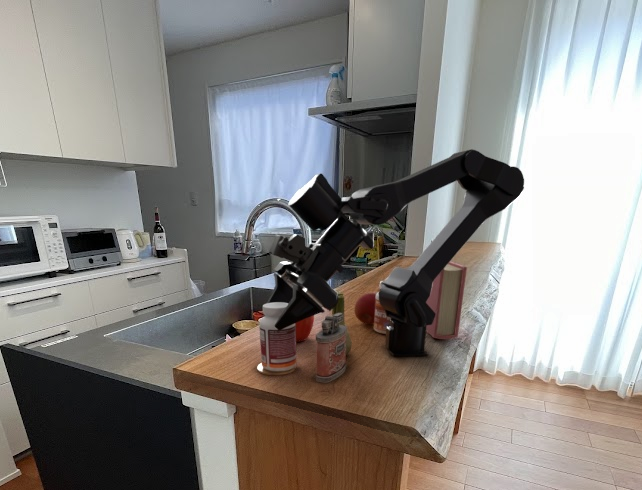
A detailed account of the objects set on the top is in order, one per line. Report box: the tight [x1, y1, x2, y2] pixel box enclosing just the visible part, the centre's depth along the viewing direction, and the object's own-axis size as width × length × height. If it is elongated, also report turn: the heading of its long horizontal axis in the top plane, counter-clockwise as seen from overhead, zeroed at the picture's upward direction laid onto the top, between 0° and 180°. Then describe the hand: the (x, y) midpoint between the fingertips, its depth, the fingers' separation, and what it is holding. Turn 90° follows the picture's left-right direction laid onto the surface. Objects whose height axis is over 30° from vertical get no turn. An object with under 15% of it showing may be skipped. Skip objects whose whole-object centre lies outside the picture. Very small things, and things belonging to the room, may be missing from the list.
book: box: [426, 260, 468, 340], centre depth 84 cm, size 14×15×5 cm
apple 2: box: [354, 292, 378, 325], centre depth 92 cm, size 8×8×8 cm
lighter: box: [315, 313, 348, 383], centre depth 63 cm, size 8×3×10 cm, turn 148°
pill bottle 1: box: [258, 302, 297, 372], centre depth 66 cm, size 6×6×11 cm
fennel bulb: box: [331, 291, 352, 356], centre depth 71 cm, size 6×5×12 cm
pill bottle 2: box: [373, 280, 392, 335], centre depth 85 cm, size 6×6×11 cm
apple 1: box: [295, 315, 315, 343], centre depth 81 cm, size 8×8×11 cm
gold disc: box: [256, 362, 297, 376], centre depth 67 cm, size 7×7×1 cm
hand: (270, 321), depth 64 cm, fingers open, 9 cm apart
